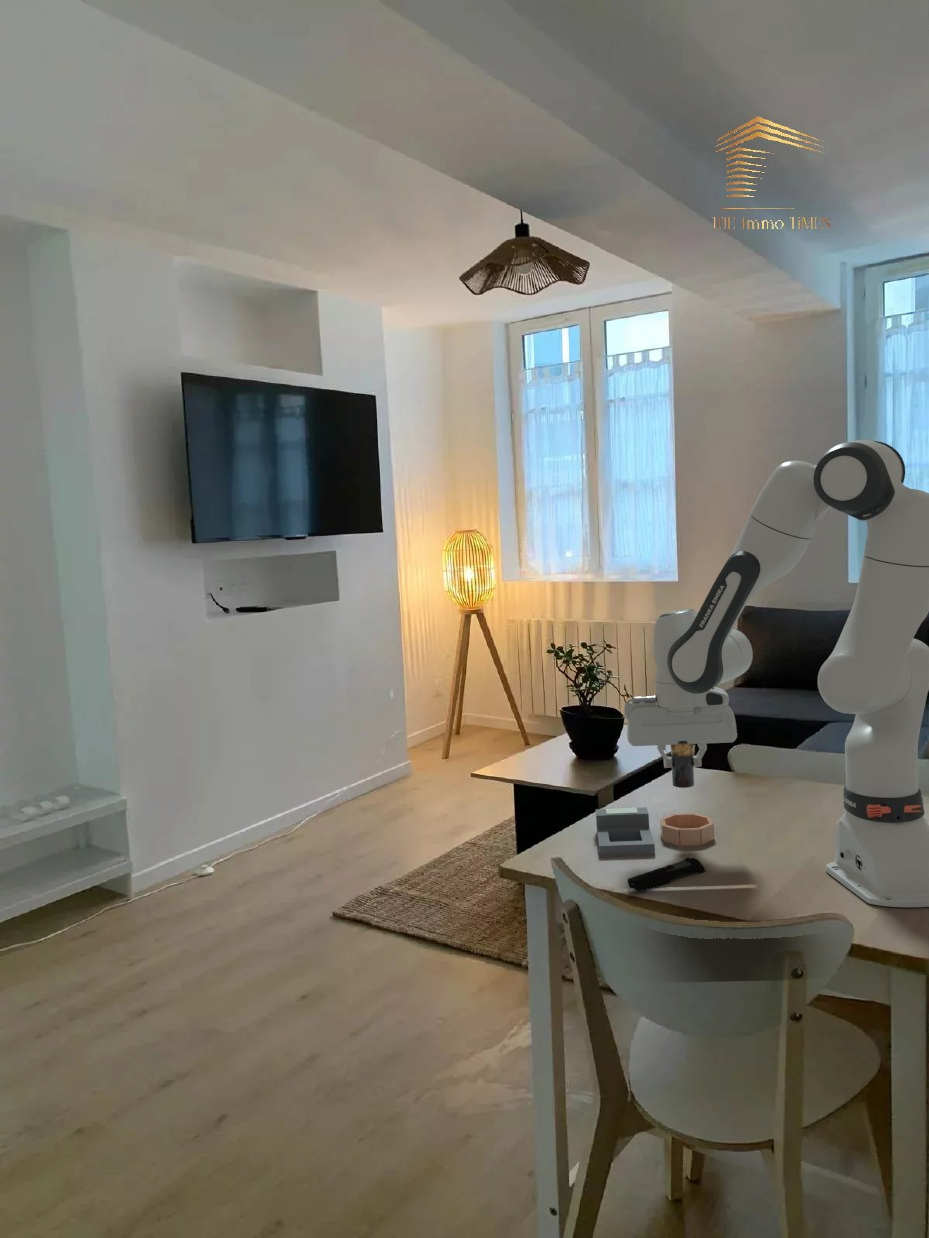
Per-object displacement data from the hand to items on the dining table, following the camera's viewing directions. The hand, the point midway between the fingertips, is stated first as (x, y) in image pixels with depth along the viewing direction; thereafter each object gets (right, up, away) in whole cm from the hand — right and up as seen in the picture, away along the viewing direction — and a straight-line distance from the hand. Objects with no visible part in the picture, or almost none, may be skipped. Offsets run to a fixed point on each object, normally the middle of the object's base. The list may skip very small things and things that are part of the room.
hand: (682, 766), depth 178 cm
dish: (+1, -14, +1) cm, 14 cm away
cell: (0, -4, +1) cm, 4 cm away
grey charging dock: (-11, -15, +1) cm, 19 cm away
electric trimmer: (-7, -17, -18) cm, 26 cm away
